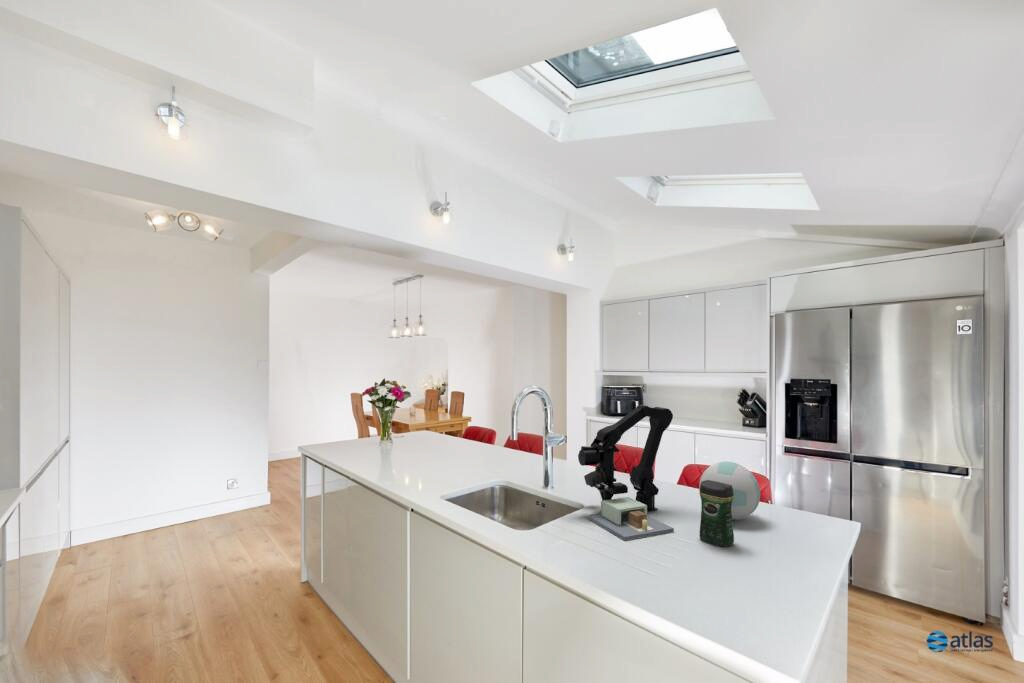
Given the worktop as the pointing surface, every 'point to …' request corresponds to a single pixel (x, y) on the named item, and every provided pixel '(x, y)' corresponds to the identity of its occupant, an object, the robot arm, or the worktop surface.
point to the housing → (620, 508)
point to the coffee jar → (716, 513)
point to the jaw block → (637, 518)
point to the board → (630, 532)
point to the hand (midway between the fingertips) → (605, 506)
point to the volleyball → (736, 486)
